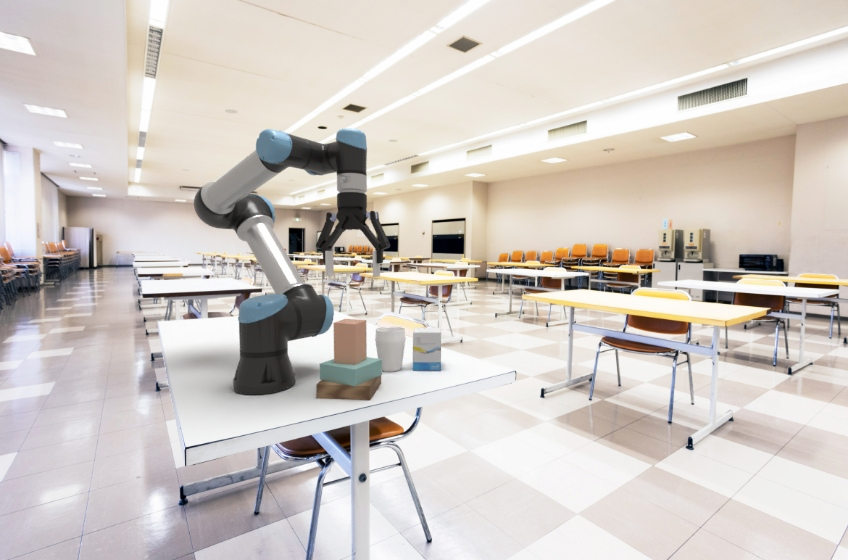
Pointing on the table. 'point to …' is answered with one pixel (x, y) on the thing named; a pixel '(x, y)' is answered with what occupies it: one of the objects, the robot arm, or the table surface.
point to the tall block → (350, 341)
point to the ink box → (427, 349)
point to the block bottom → (347, 390)
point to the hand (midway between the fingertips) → (352, 276)
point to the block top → (351, 371)
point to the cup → (390, 347)
